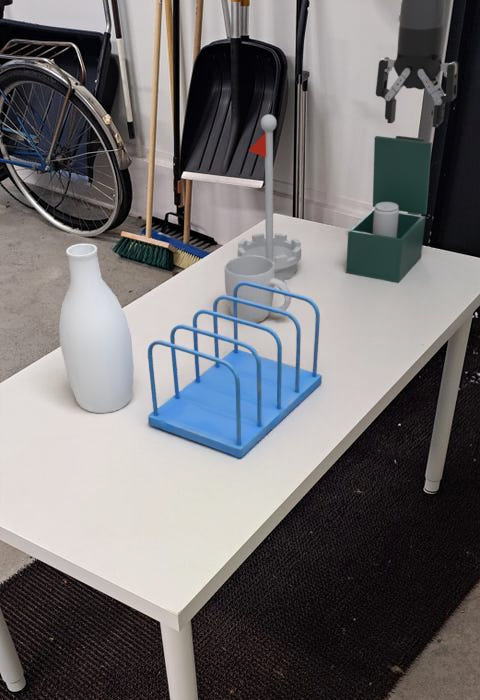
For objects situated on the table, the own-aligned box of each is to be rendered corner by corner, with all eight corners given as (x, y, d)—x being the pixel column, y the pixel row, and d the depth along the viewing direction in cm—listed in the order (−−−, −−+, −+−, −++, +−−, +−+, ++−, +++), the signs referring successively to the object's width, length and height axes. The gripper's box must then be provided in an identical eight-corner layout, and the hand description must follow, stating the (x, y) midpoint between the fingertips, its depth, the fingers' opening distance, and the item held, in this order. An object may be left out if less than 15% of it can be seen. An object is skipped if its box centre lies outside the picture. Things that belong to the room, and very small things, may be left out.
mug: (218, 321, 160) (216, 270, 153) (239, 302, 166) (238, 252, 159) (280, 334, 155) (280, 282, 149) (299, 314, 161) (300, 263, 155)
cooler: (398, 282, 170) (402, 240, 165) (345, 272, 174) (348, 230, 169) (421, 257, 179) (425, 216, 173) (370, 248, 183) (373, 208, 178)
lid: (430, 144, 162) (439, 133, 165) (374, 137, 167) (384, 126, 170) (425, 215, 173) (433, 203, 176) (372, 206, 177) (381, 195, 180)
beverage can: (393, 260, 177) (398, 201, 169) (394, 269, 173) (399, 210, 165) (370, 259, 177) (374, 201, 169) (370, 269, 174) (374, 210, 166)
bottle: (111, 425, 135) (87, 271, 118) (56, 406, 139) (26, 256, 123) (152, 392, 142) (135, 242, 125) (99, 375, 146) (76, 229, 130)
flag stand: (269, 252, 183) (268, 100, 164) (314, 269, 176) (318, 113, 156) (225, 271, 177) (218, 115, 157) (269, 290, 169) (268, 129, 150)
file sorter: (240, 460, 126) (237, 369, 116) (148, 427, 134) (137, 338, 124) (322, 383, 142) (325, 297, 132) (235, 357, 149) (231, 274, 139)
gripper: (468, 20, 145) (457, 122, 156) (389, 16, 151) (383, 115, 161) (455, 28, 140) (444, 133, 151) (374, 24, 146) (368, 126, 156)
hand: (413, 124), depth 156 cm, fingers open, 8 cm apart
